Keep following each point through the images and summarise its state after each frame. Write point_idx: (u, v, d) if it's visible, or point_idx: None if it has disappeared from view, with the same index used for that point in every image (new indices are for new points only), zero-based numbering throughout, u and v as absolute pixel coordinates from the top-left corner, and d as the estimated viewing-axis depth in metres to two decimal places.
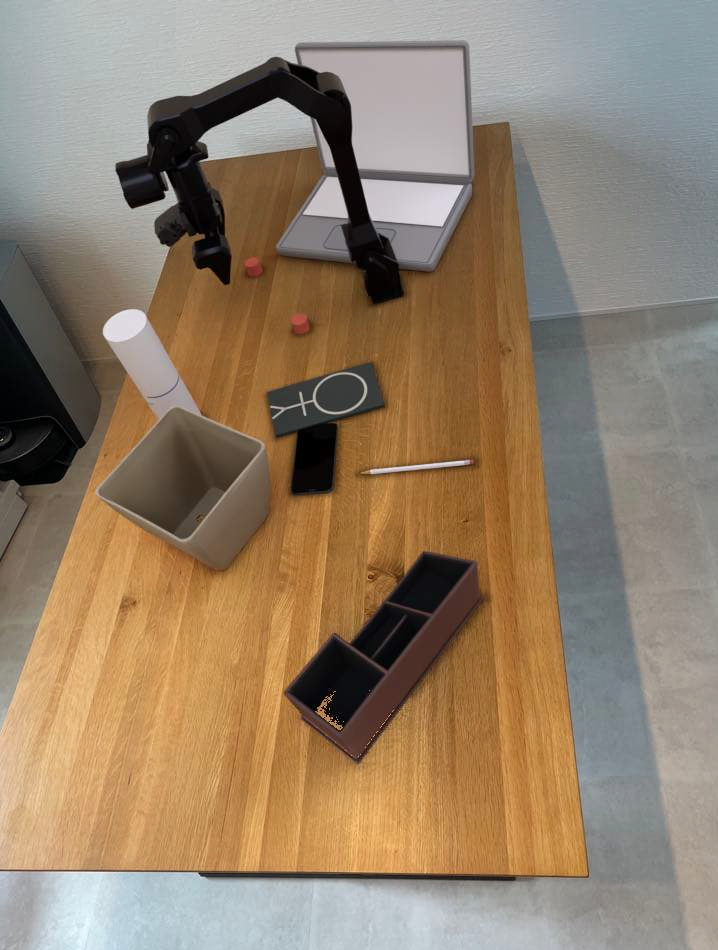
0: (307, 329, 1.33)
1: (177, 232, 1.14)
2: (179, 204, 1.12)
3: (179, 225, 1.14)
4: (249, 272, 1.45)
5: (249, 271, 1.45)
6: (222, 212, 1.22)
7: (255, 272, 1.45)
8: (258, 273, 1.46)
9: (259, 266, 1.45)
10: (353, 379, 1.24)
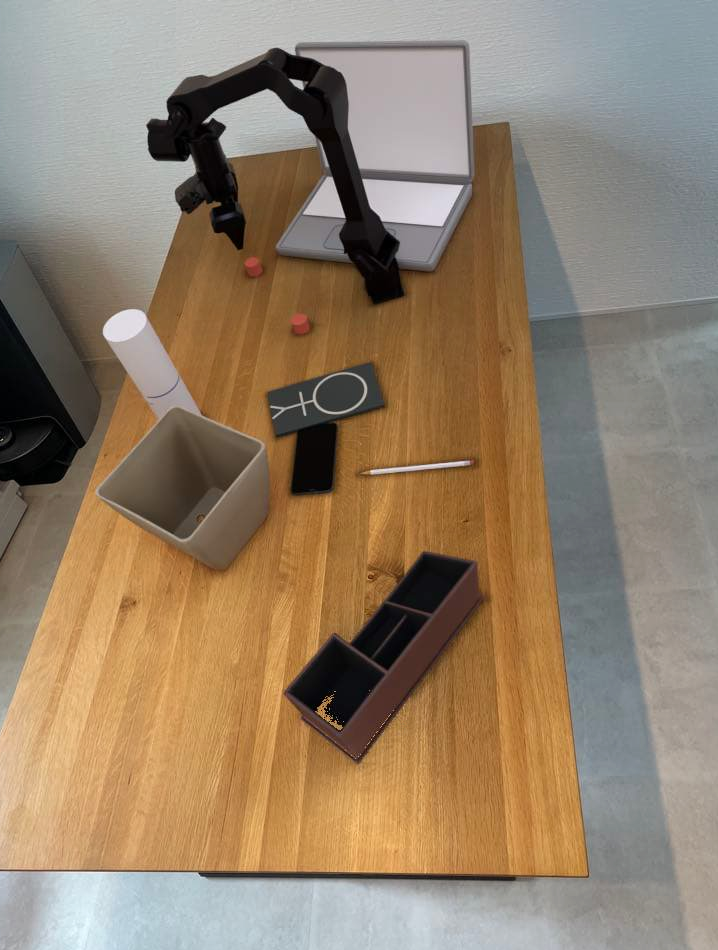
0: (307, 329, 1.33)
1: (196, 200, 1.25)
2: (198, 174, 1.24)
3: (198, 193, 1.25)
4: (249, 272, 1.45)
5: (249, 271, 1.45)
6: (235, 183, 1.34)
7: (255, 272, 1.45)
8: (258, 273, 1.46)
9: (259, 266, 1.45)
10: (353, 379, 1.24)
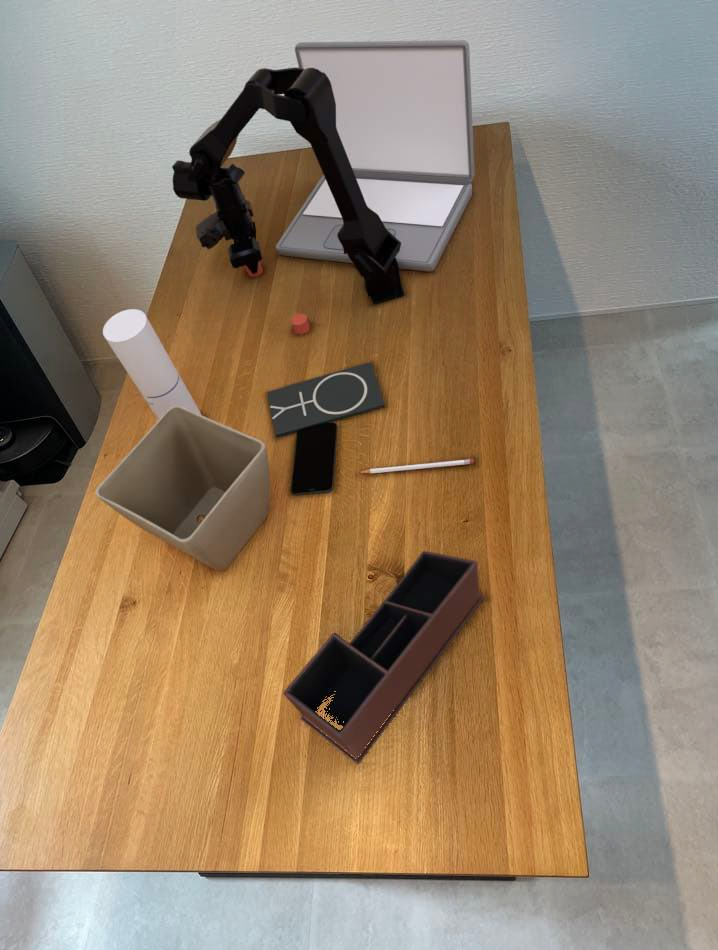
0: (307, 329, 1.33)
1: (216, 236, 1.35)
2: (218, 213, 1.33)
3: (218, 231, 1.35)
4: (249, 272, 1.45)
5: (249, 271, 1.45)
6: (254, 227, 1.42)
7: None
8: (258, 273, 1.46)
9: (259, 266, 1.45)
10: (353, 379, 1.24)
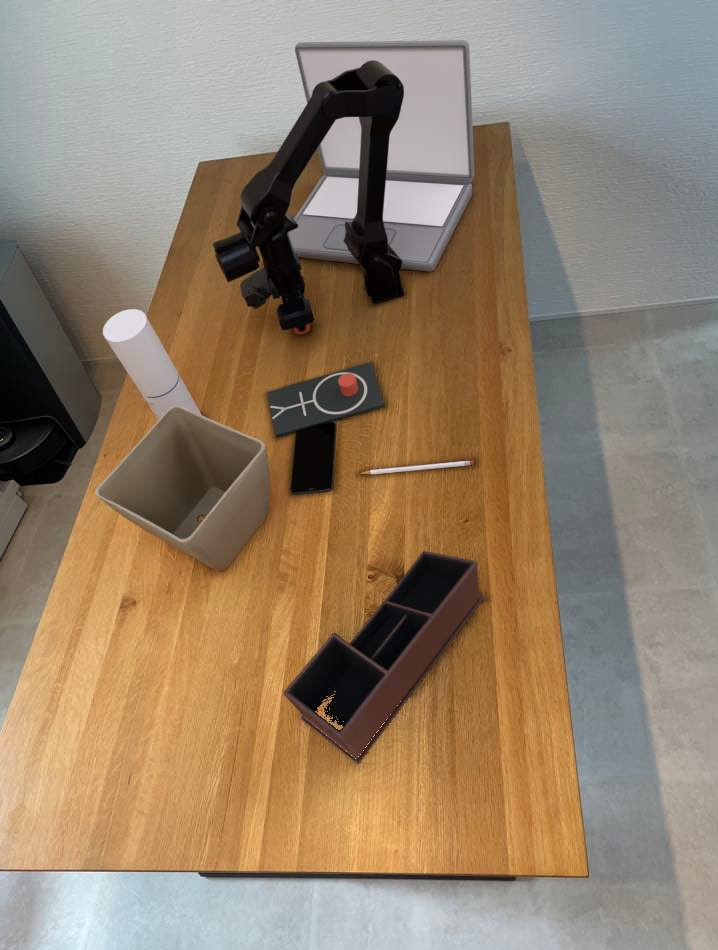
0: (307, 329, 1.33)
1: (264, 296, 1.22)
2: (267, 271, 1.21)
3: (265, 289, 1.22)
4: (343, 391, 1.21)
5: (343, 390, 1.21)
6: (302, 282, 1.29)
7: (351, 392, 1.21)
8: (354, 392, 1.21)
9: (356, 385, 1.21)
10: None
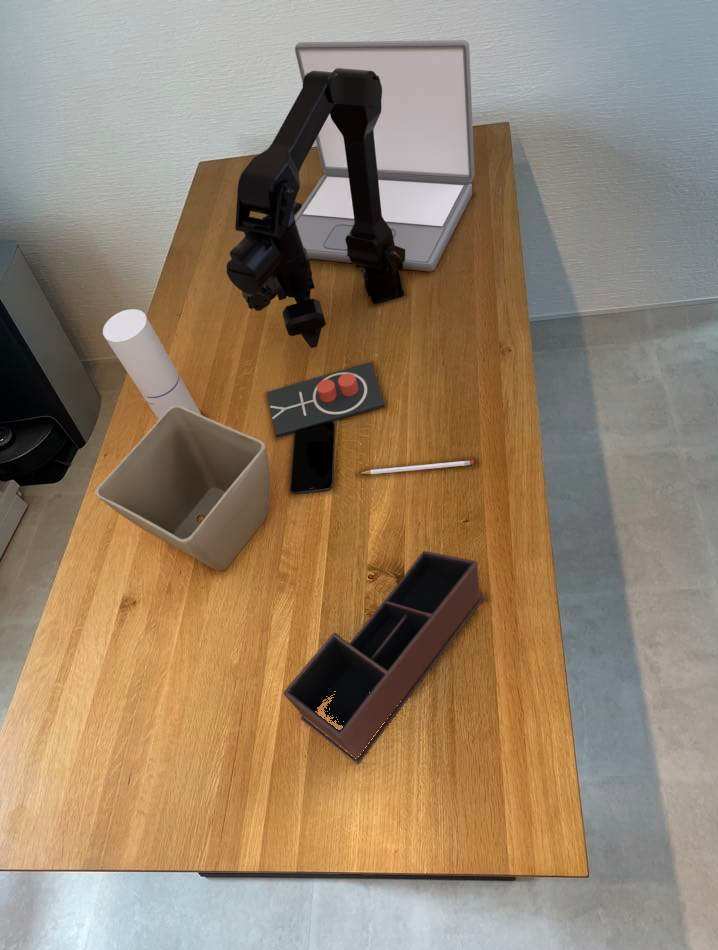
0: (334, 397, 1.22)
1: (268, 296, 1.06)
2: None
3: (270, 289, 1.06)
4: (343, 391, 1.21)
5: (343, 390, 1.21)
6: None
7: (351, 392, 1.21)
8: (354, 392, 1.21)
9: (356, 385, 1.21)
10: None
